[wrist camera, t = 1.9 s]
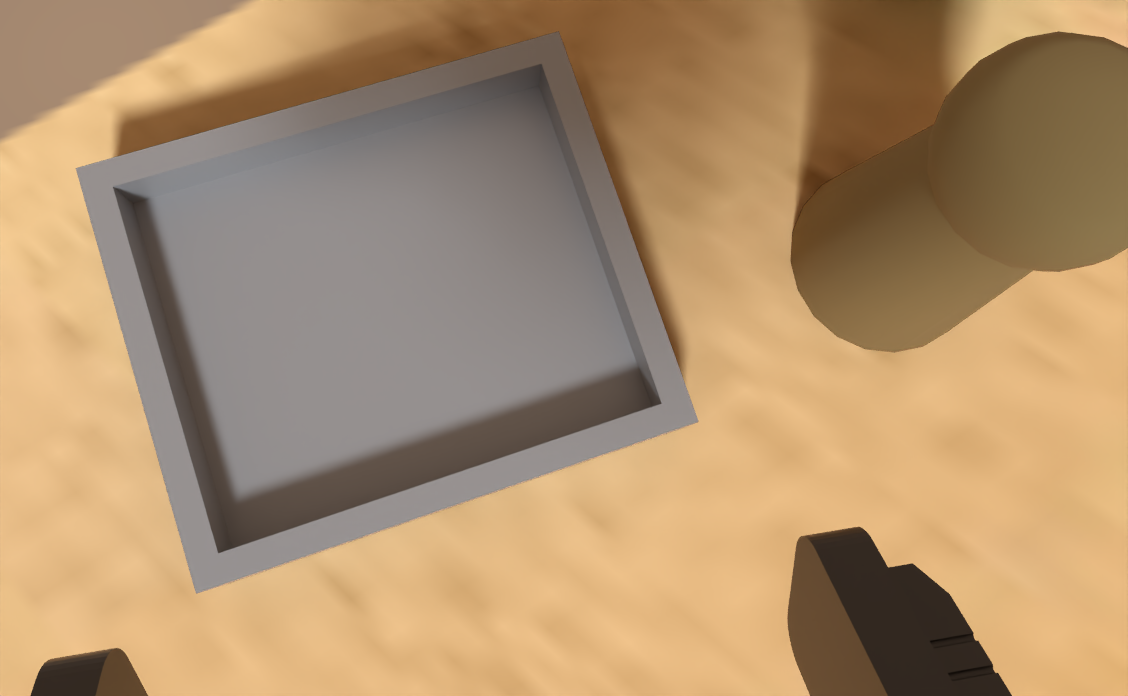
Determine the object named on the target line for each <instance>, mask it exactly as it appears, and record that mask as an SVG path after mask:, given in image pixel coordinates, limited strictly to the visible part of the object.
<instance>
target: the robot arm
mask: <svg viewBox="0 0 1128 696" xmlns="http://www.w3.org/2000/svg"><path fill="white" fill-rule="evenodd" d="M788 630H789V636H790V641H791V646H792V650H793V653H794V657H795V660H796V662H797V665H798V668H799V670H800V672H801V675H802V677H803V679H804V682H805V684H806V687H807V689H808V691H809V694H810V696H1012V695H1011V693H1010V692H1009V690H1008V688H1007V687H1006V685H1005V684H1004V682H1003V680H1002V679H1001V677H1000V675H999V674H998V673H995V672H994V670H993V664H992V662H991V661H990V659H989V658H988V656H987V654H986V653H985V651H984V649H983V648H982V646H981V645H980V643H979V641H975V639H974V636H973V632H972V630H971V628H970V627H969V625H968V623H967V622H966V620H965V618H964V617H963V615H962V614H961V612H960V610H959V609H958V607H957V605H956V604H955V602H954V601H953V599H952V597H951V596H950V594H949V593H947V592H946V591H945V590H944V589H943V588H941V587H940V586H939V585H938V584H937V583H935V582H934V581H933V580H932V579H931V578H929V577H928V576H927V575H926V574H925V573H923V572H922V571H921V570H920V569H919V568H917V567H916V566H915V565H914V564H907V565H901V566H895V567H890V568H888V567H887V565H886V563H885V561H884V560H883V558H882V556H881V554H880V553H879V551H878V549H877V547H876V545H875V544H874V542H873V540H872V539H871V537H870V535H869V534H868V533H867V532H866V531H865V530H864V529H863V528H861V527H854V528H848V529H842V530H836V531H830V532H824V533H818V534H812V535H806V536H801V537H800V538H799V539H798V542H797V545H796V552H795V560H794V568H793V576H792V584H791V591H790V599H789V607H788ZM31 696H148V695H147V693H146V691H145V689H144V687H143V685H142V683H141V682H140V680H139V678H138V676H137V674H136V672H135V670H134V668H133V667H132V665H131V663H130V661H129V659H128V657H127V656H126V654H125V653H124V652H123V651H122V650H121V649H119V648H114V649H108V650H102V651H96V652H90V653H84V654H78V655H72V656H66V657H60V658H54V659H50V660H48V661H47V662H45V663H44V665H43V666H42V667H41V669H40V671H39V673H38V675H37V678H36V681H35V684H34V687H33V690H32V693H31Z"/></svg>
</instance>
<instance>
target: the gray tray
mask: <svg viewBox="0 0 1128 696" xmlns="http://www.w3.org/2000/svg"><path fill="white" fill-rule="evenodd" d="M76 171H77V174H78V178H79V181H80V185H81V188H82V192H83V195H84V199H85V202H86V206H87V209H88V213H89V217H90V220H91V224H92V227H93V231H94V234H95V238H96V241H97V245H98V248H99V252H100V255H101V259H102V263H103V266H104V270H105V273H106V277H107V280H108V284H109V287H110V291H111V294H112V298H113V301H114V305H115V308H116V312H117V316H118V319H119V323H120V326H121V330H122V333H123V337H124V340H125V344H126V347H127V351H128V354H129V358H130V361H131V365H132V369H133V372H134V376H135V379H136V383H137V386H138V390H139V393H140V397H141V400H142V404H143V407H144V411H145V415H146V418H147V422H148V425H149V429H150V432H151V436H152V439H153V443H154V446H155V450H156V453H157V457H158V460H159V464H160V468H161V471H162V475H163V478H164V482H165V485H166V489H167V492H168V496H169V499H170V503H171V506H172V510H173V513H174V517H175V521H176V524H177V528H178V531H179V535H180V538H181V542H182V545H183V549H184V552H185V556H186V559H187V563H188V567H189V570H190V574H191V577H192V581H193V584H194V588H195V591H196V593H200V592H203V591H206V590H209V589H212V588H216V587H219V586H222V585H225V584H228V583H231V582H234V581H237V580H240V579H242V578H245V577H248V576H251V575H254V574H257V573H260V572H263V571H266V570H269V569H272V568H275V567H278V566H280V565H283V564H286V563H289V562H292V561H295V560H298V559H301V558H304V557H307V556H310V555H313V554H316V553H318V552H321V551H324V550H327V549H330V548H333V547H336V546H339V545H342V544H345V543H348V542H351V541H354V540H356V539H359V538H362V537H365V536H368V535H371V534H374V533H377V532H380V531H383V530H386V529H389V528H392V527H394V526H397V525H400V524H403V523H406V522H409V521H412V520H415V519H418V518H421V517H424V516H427V515H430V514H432V513H435V512H438V511H441V510H444V509H447V508H450V507H453V506H456V505H459V504H462V503H465V502H468V501H470V500H473V499H476V498H479V497H482V496H485V495H488V494H491V493H494V492H497V491H500V490H503V489H506V488H508V487H511V486H514V485H517V484H520V483H523V482H526V481H529V480H532V479H535V478H538V477H541V476H544V475H546V474H549V473H552V472H555V471H558V470H561V469H564V468H567V467H570V466H573V465H576V464H579V463H582V462H584V461H587V460H590V459H593V458H596V457H599V456H602V455H605V454H608V453H611V452H614V451H617V450H620V449H622V448H625V447H628V446H631V445H634V444H637V443H640V442H643V441H646V440H649V439H652V438H655V437H658V436H660V435H663V434H666V433H669V432H672V431H675V430H678V429H681V428H684V427H686V426H689V425H691V424H694V423H697V422H698V419H697V416H696V413H695V410H694V408H693V405H692V402H691V399H690V396H689V394H688V391H687V388H686V385H685V383H684V380H683V377H682V374H681V371H680V369H679V366H678V363H677V360H676V357H675V355H674V352H673V349H672V346H671V343H670V341H669V338H668V335H667V332H666V329H665V327H664V324H663V321H662V318H661V315H660V313H659V310H658V307H657V304H656V302H655V299H654V296H653V293H652V290H651V288H650V285H649V282H648V279H647V276H646V274H645V271H644V268H643V265H642V262H641V260H640V257H639V254H638V251H637V248H636V246H635V243H634V240H633V237H632V234H631V232H630V229H629V226H628V223H627V220H626V218H625V215H624V212H623V209H622V207H621V204H620V201H619V198H618V195H617V193H616V190H615V187H614V184H613V181H612V179H611V176H610V173H609V170H608V167H607V165H606V162H605V159H604V156H603V153H602V151H601V148H600V145H599V142H598V139H597V137H596V134H595V131H594V128H593V125H592V123H591V120H590V117H589V114H588V112H587V109H586V106H585V103H584V100H583V98H582V95H581V92H580V89H579V86H578V84H577V81H576V78H575V75H574V72H573V70H572V67H571V64H570V61H569V58H568V56H567V53H566V50H565V47H564V44H563V42H562V39H561V36H560V33H559V31H558V32H555V33H551V34H548V35H544V36H541V37H537V38H534V39H530V40H527V41H523V42H519V43H516V44H512V45H509V46H505V47H502V48H498V49H495V50H491V51H488V52H484V53H481V54H477V55H474V56H470V57H467V58H463V59H460V60H456V61H452V62H449V63H445V64H442V65H438V66H435V67H431V68H428V69H424V70H421V71H417V72H414V73H410V74H407V75H403V76H400V77H396V78H393V79H389V80H385V81H382V82H378V83H375V84H371V85H368V86H364V87H361V88H357V89H354V90H350V91H347V92H343V93H340V94H336V95H333V96H329V97H326V98H322V99H318V100H315V101H311V102H308V103H304V104H301V105H297V106H294V107H290V108H287V109H283V110H280V111H276V112H273V113H269V114H266V115H262V116H259V117H255V118H251V119H248V120H244V121H241V122H237V123H234V124H230V125H227V126H223V127H220V128H216V129H213V130H209V131H206V132H202V133H199V134H195V135H192V136H188V137H184V138H181V139H177V140H174V141H170V142H167V143H163V144H160V145H156V146H153V147H149V148H146V149H142V150H139V151H135V152H132V153H128V154H125V155H121V156H117V157H114V158H110V159H107V160H103V161H100V162H96V163H93V164H89V165H86V166H82V167H79V168H76Z"/></svg>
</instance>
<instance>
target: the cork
mask: <svg viewBox="0 0 1128 696" xmlns="http://www.w3.org/2000/svg"><path fill="white" fill-rule="evenodd" d="M1127 248H1128V48H1126V47H1124V46H1122V45H1120V44H1118V43H1115V42H1113V41H1111V40H1109V39H1106V38H1104V37H1096V36H1089V35H1082V34H1074V33H1066V32H1054V33H1048V34H1043V35H1037V36H1031V37H1026V38H1023V39H1021V40H1018V41H1016V42H1013V43H1011V44H1009V45H1007V46H1005V47H1003V48H1001V49H1000V50H998V51H996V52H994V53H992V54H991V55H989V56H987V57H985V58H983V59H982V60H980V61H979V62H978V63H977V64H976V65H975V66H974V67H973V68H972V69H971V70H969V71H968V72H967V74H966V75H965V76H964V77H963V78H962V79H961V80H960V82H959V83H958V84H957V85H956V86H955V87H954V88H953V90H952V91H951V92H950V93H949V94H948V95H947V96H946V98H945V100H944V103H943V105H942V107H941V109H940V111H939V114H938V116H937V119H936V121H935V124H934V125H933V126H931V127H929V128H927V129H925V130H923V131H921V132H919V133H917V134H916V135H914V136H912V137H910V138H908V139H906V140H904V141H902V142H901V143H899V144H897V145H895V146H893V147H891V148H889V149H887V150H885V151H884V152H882V153H880V154H878V155H876V156H874V157H872V158H870V159H869V160H867V161H865V162H863V163H861V164H859V165H857V166H855V167H854V168H852V169H850V170H848V171H846V172H844V173H842V174H841V175H839V176H837V177H835V178H834V179H832V180H830V181H828V182H826V183H825V184H823V185H822V186H821V187H820V188H819V189H818V190H817V191H816V192H815V193H814V195H813V196H812V197H811V198H810V199H809V200H808V201H807V202H806V204H805V205H804V206H803V208H802V211H801V213H800V215H799V218H798V220H797V223H796V225H795V228H794V230H793V233H792V249H791V264H792V268H793V272H794V276H795V280H796V284H797V288H798V291H799V293H800V294H801V296H802V297H803V299H804V301H805V302H806V304H807V306H808V307H809V309H810V310H811V312H812V314H813V315H814V317H816V318H817V319H818V320H819V321H820V322H821V323H822V324H823V325H825V326H826V327H827V328H828V329H829V330H830V331H831V332H833V333H834V334H835V335H836V336H837V337H839V338H842V339H844V340H846V341H848V342H850V343H853V344H855V345H857V346H859V347H862V348H864V349H869V350H878V351H887V352H899V351H903V350H908V349H913V348H918V347H922V346H924V345H926V344H928V343H929V342H931V341H933V340H934V339H936V338H938V337H939V336H941V335H943V334H944V333H946V332H948V331H949V330H950V329H952V328H953V327H955V326H956V325H957V324H959V323H960V322H962V321H963V320H964V319H966V318H967V317H969V316H970V315H971V314H973V313H974V312H976V311H977V310H978V309H980V308H981V307H983V306H984V305H985V304H987V303H988V302H990V301H991V300H992V299H994V298H995V297H997V296H998V295H999V294H1001V293H1002V292H1004V291H1005V290H1006V289H1008V288H1009V287H1011V286H1012V285H1013V284H1015V283H1016V282H1018V281H1019V280H1020V279H1022V278H1023V277H1025V276H1026V275H1027V274H1029V273H1030V272H1032V271H1033V270H1036V271H1054V272H1060V271H1065V270H1070V269H1075V268H1079V267H1084V266H1089V265H1094V264H1096V263H1099V262H1102V261H1105V260H1107V259H1110V258H1112V257H1114V256H1115V255H1117V254H1118V253H1120V252H1122V251H1123V250H1125V249H1127Z"/></svg>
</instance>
